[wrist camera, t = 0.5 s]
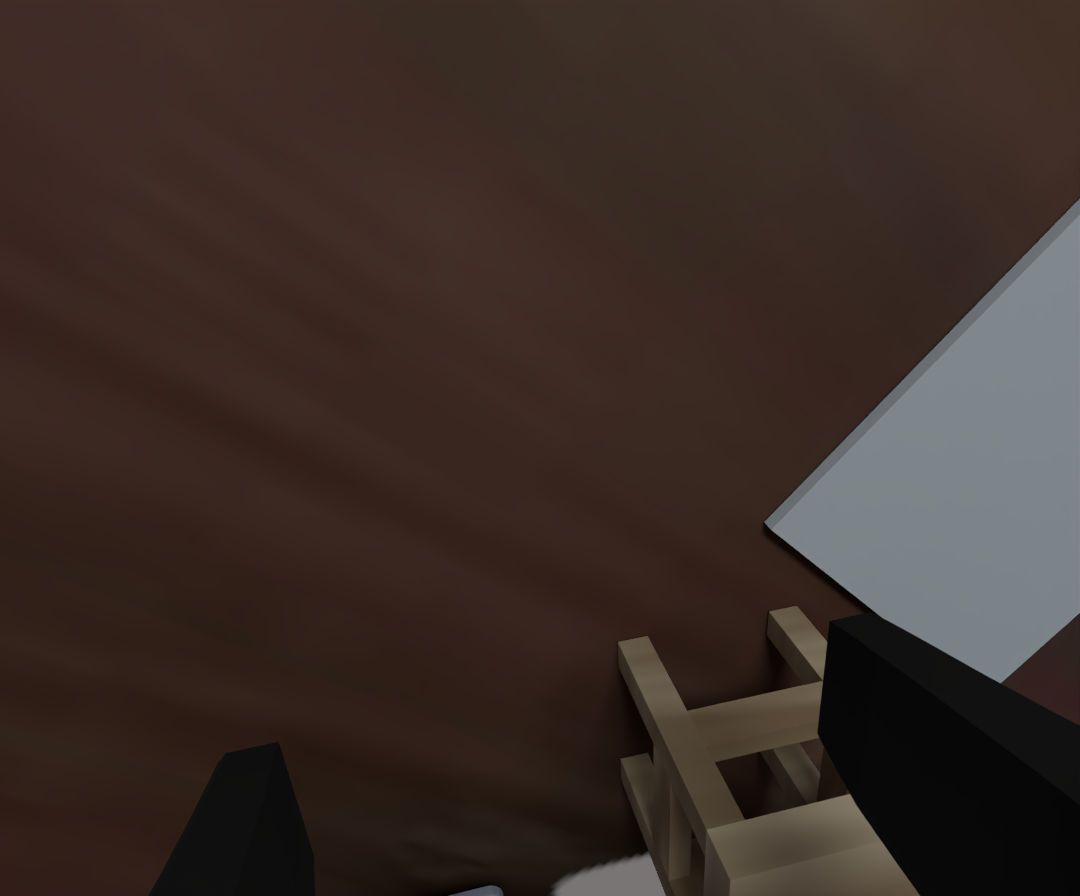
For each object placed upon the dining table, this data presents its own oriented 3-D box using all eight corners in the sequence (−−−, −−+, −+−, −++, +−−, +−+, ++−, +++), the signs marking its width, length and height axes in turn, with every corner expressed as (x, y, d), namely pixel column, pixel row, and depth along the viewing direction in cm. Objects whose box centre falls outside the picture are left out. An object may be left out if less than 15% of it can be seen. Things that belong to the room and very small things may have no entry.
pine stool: (782, 741, 26) (931, 971, 19) (620, 778, 25) (719, 1034, 18) (796, 605, 23) (974, 816, 17) (617, 642, 22) (730, 880, 16)
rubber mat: (1263, 431, 24) (1276, 437, 24) (975, 690, 27) (984, 698, 26) (1104, 174, 19) (1117, 175, 19) (763, 522, 22) (771, 529, 21)
